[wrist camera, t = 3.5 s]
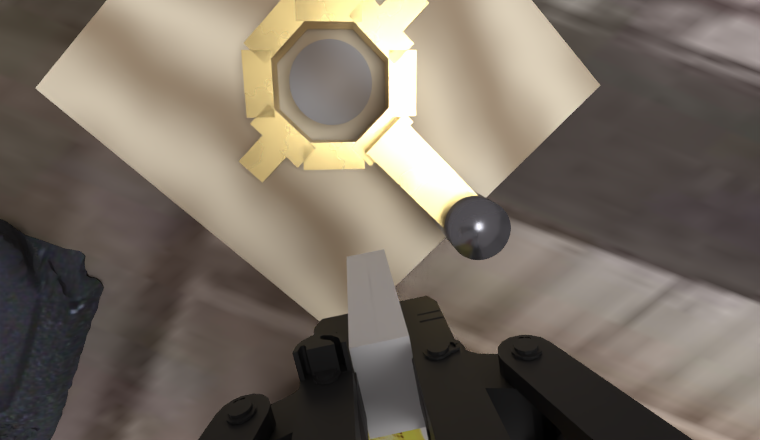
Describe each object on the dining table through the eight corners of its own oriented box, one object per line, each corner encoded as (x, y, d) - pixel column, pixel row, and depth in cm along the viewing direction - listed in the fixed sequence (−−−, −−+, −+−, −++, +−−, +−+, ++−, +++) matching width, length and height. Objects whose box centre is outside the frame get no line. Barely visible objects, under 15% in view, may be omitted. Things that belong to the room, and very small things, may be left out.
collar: (399, 294, 27) (412, 334, 22) (195, 113, 23) (156, 112, 18) (546, 151, 25) (595, 160, 20) (353, -67, 22) (356, -119, 17)
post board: (341, 324, 29) (341, 366, 25) (59, 90, 24) (-11, 84, 20) (581, 87, 27) (634, 81, 22) (322, -230, 22) (316, -327, 17)
